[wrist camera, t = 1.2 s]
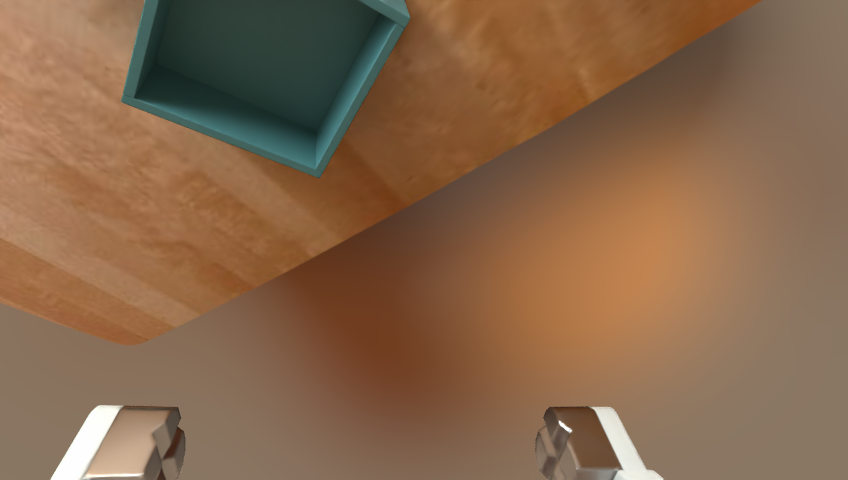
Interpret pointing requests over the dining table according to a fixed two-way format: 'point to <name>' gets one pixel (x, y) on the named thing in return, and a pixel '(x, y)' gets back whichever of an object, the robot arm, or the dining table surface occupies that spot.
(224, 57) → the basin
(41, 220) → the dining table surface
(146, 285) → the dining table surface
